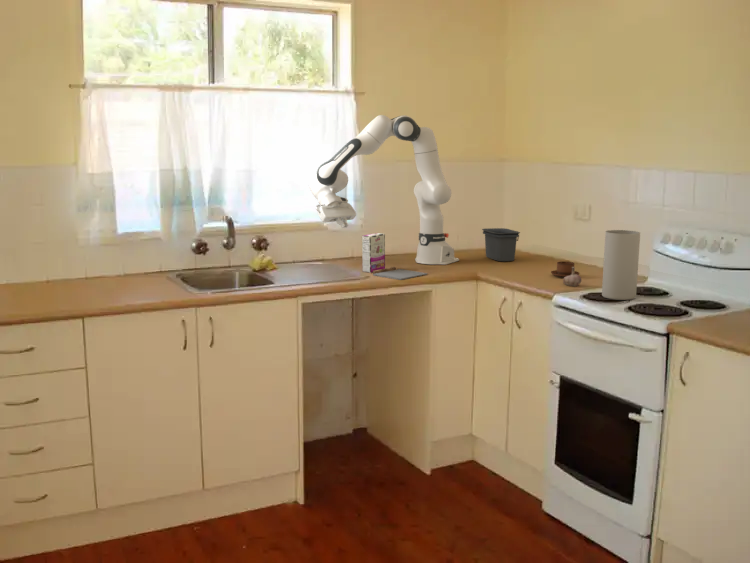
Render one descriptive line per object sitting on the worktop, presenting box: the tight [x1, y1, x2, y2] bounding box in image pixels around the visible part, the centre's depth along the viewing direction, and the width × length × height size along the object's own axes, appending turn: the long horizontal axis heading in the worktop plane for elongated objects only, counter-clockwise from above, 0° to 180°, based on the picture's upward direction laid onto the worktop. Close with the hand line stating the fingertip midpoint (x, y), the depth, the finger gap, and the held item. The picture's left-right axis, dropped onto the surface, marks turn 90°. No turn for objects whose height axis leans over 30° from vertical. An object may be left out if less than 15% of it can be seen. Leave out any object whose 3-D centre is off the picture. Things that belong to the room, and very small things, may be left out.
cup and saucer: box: [550, 260, 580, 279], centre depth 353 cm, size 12×12×6 cm
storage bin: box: [481, 227, 521, 262], centre depth 399 cm, size 21×16×14 cm
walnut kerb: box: [372, 266, 397, 275], centre depth 360 cm, size 14×1×2 cm, turn 137°
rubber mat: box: [372, 268, 429, 281], centre depth 354 cm, size 18×16×1 cm
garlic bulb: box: [562, 266, 582, 288], centre depth 332 cm, size 8×7×8 cm
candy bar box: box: [361, 232, 386, 273], centre depth 364 cm, size 11×5×16 cm, turn 143°
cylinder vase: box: [601, 229, 641, 301], centre depth 307 cm, size 12×12×25 cm
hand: (345, 226), depth 374 cm, fingers closed
